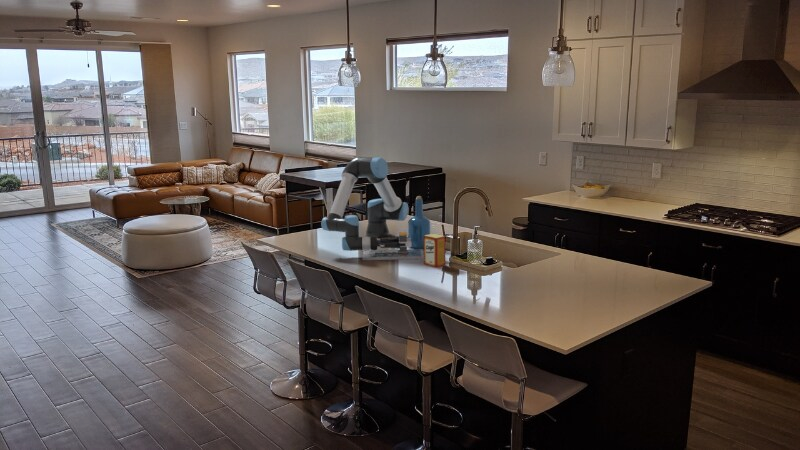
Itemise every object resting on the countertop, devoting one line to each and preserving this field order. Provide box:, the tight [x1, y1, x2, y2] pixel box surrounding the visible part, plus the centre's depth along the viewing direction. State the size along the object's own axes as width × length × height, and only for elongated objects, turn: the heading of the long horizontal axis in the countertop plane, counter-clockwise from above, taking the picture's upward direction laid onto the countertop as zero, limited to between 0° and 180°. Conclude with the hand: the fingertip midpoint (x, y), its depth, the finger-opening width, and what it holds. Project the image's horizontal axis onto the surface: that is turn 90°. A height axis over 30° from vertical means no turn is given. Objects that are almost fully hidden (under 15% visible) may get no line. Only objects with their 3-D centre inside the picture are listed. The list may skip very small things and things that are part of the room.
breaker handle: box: [397, 231, 409, 253], centre depth 354 cm, size 4×6×11 cm
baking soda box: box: [423, 233, 446, 268], centre depth 334 cm, size 10×6×16 cm
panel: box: [362, 248, 422, 261], centre depth 355 cm, size 16×32×2 cm, turn 92°
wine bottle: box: [407, 195, 432, 250], centre depth 374 cm, size 14×13×30 cm
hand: (410, 242), depth 354 cm, fingers open, 8 cm apart
